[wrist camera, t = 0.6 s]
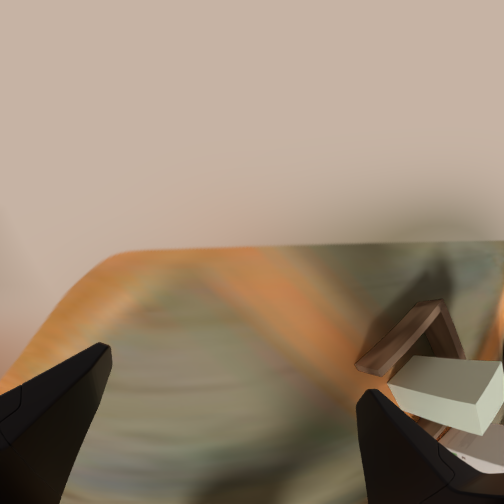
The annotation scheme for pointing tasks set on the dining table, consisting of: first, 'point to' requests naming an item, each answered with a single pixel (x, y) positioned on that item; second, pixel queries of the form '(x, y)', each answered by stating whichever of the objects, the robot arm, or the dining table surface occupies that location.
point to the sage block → (451, 391)
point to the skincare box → (478, 448)
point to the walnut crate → (406, 334)
